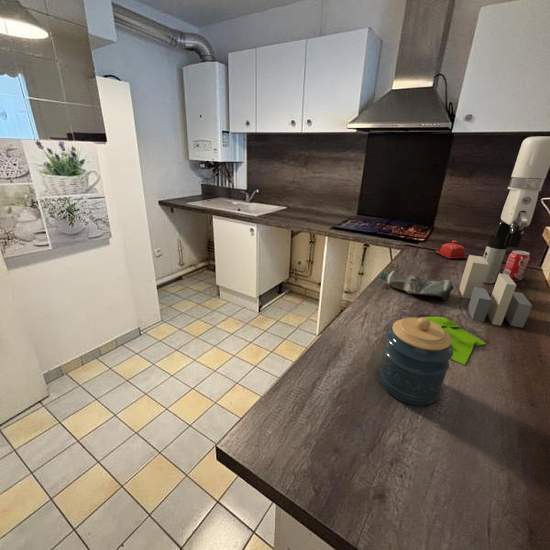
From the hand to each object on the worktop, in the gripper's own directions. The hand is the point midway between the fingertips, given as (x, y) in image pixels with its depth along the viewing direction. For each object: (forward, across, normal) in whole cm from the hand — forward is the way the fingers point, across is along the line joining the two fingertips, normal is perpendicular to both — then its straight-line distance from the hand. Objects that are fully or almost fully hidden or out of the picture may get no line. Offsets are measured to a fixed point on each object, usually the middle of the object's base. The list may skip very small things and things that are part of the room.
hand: (505, 242), depth 89 cm
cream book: (+24, -4, -2) cm, 25 cm away
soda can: (+24, +39, -18) cm, 49 cm away
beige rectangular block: (+24, +13, +2) cm, 28 cm away
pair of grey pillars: (+24, -4, -2) cm, 25 cm away
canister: (+24, -47, +24) cm, 58 cm away
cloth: (+24, -24, +14) cm, 37 cm away
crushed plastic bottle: (+24, +7, +22) cm, 33 cm away
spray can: (+24, +31, -7) cm, 40 cm away
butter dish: (+24, +61, +2) cm, 66 cm away
